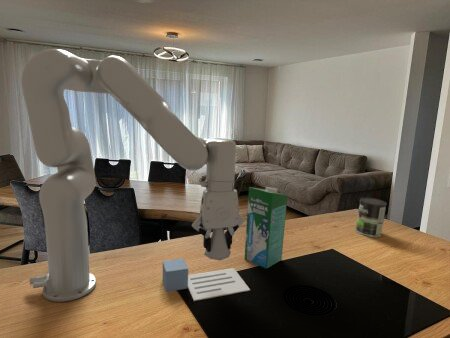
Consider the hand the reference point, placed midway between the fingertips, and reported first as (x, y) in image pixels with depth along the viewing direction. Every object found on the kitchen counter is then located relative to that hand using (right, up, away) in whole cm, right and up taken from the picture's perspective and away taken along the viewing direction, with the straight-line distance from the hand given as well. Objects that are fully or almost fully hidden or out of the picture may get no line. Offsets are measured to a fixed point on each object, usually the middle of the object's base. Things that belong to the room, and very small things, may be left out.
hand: (217, 247), depth 83 cm
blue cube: (-12, -10, +1) cm, 16 cm away
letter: (-1, -11, +2) cm, 11 cm away
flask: (0, -2, 0) cm, 2 cm away
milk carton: (+15, -9, +18) cm, 24 cm away
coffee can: (+64, -6, +46) cm, 79 cm away
